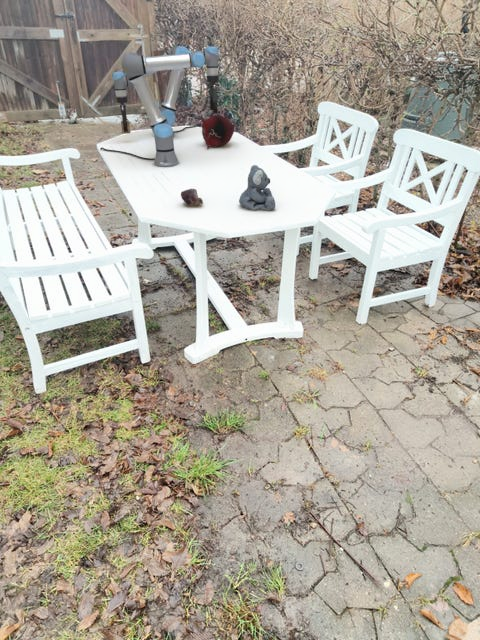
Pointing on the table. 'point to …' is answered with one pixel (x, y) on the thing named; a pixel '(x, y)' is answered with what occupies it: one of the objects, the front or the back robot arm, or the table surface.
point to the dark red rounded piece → (217, 130)
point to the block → (127, 127)
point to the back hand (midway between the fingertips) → (126, 130)
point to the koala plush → (257, 191)
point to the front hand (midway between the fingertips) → (213, 111)
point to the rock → (191, 197)
